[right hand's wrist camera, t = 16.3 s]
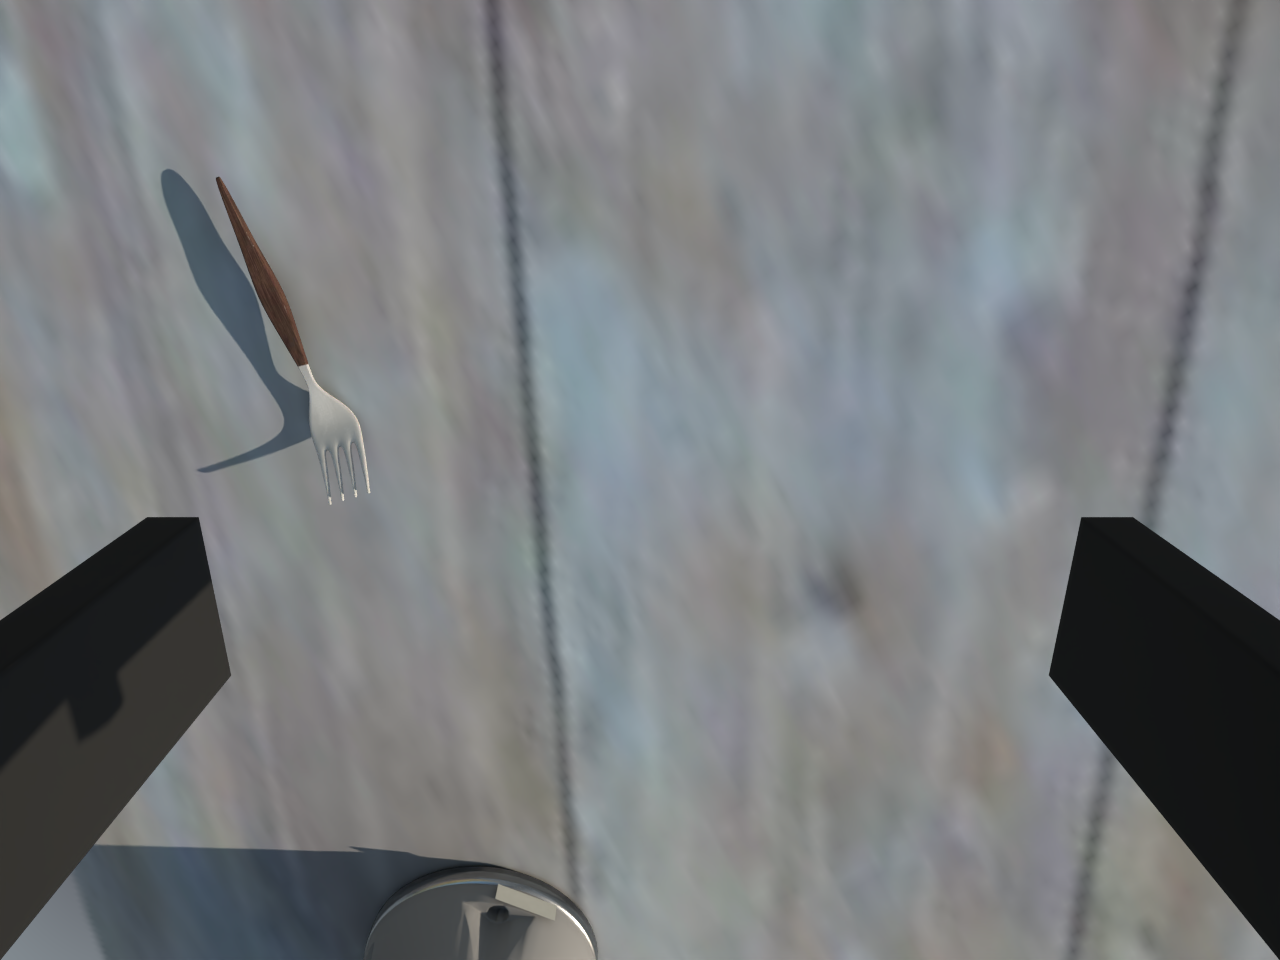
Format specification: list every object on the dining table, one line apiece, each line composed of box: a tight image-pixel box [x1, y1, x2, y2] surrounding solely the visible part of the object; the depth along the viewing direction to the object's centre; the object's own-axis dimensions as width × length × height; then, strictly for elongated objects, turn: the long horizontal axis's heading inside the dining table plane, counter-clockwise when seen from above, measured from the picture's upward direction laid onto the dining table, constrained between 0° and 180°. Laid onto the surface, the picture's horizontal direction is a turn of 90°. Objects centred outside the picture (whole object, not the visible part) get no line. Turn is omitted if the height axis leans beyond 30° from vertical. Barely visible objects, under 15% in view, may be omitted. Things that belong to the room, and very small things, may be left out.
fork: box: [216, 177, 370, 505], centre depth 40 cm, size 3×16×2 cm, turn 17°
